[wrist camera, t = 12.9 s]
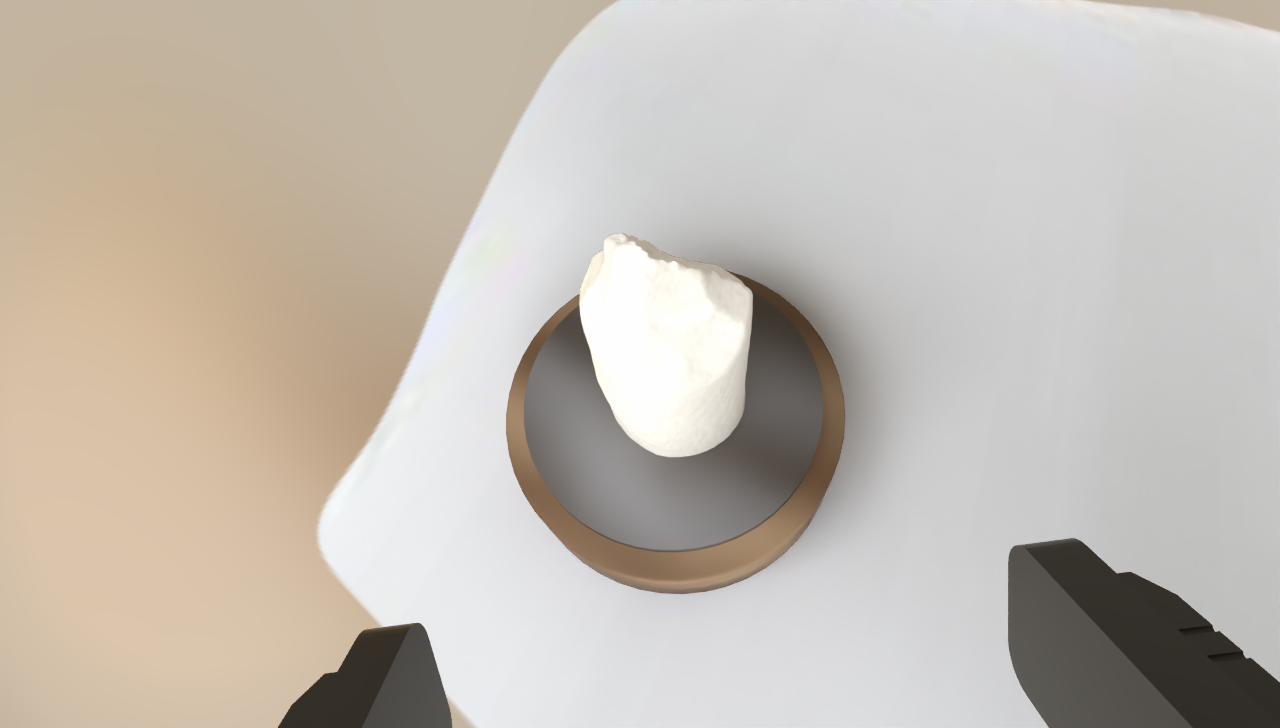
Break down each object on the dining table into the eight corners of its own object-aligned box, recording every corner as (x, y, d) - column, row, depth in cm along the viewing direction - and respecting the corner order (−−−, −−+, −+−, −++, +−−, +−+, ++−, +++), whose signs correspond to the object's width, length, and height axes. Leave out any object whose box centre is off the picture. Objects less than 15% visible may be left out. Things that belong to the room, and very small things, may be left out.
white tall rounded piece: (775, 168, 20) (739, 334, 18) (756, 356, 31) (732, 476, 29) (579, 144, 22) (522, 297, 19) (625, 333, 32) (592, 446, 30)
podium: (620, 268, 40) (609, 214, 36) (878, 374, 35) (900, 327, 31) (469, 499, 35) (434, 468, 30) (749, 658, 30) (754, 648, 26)
